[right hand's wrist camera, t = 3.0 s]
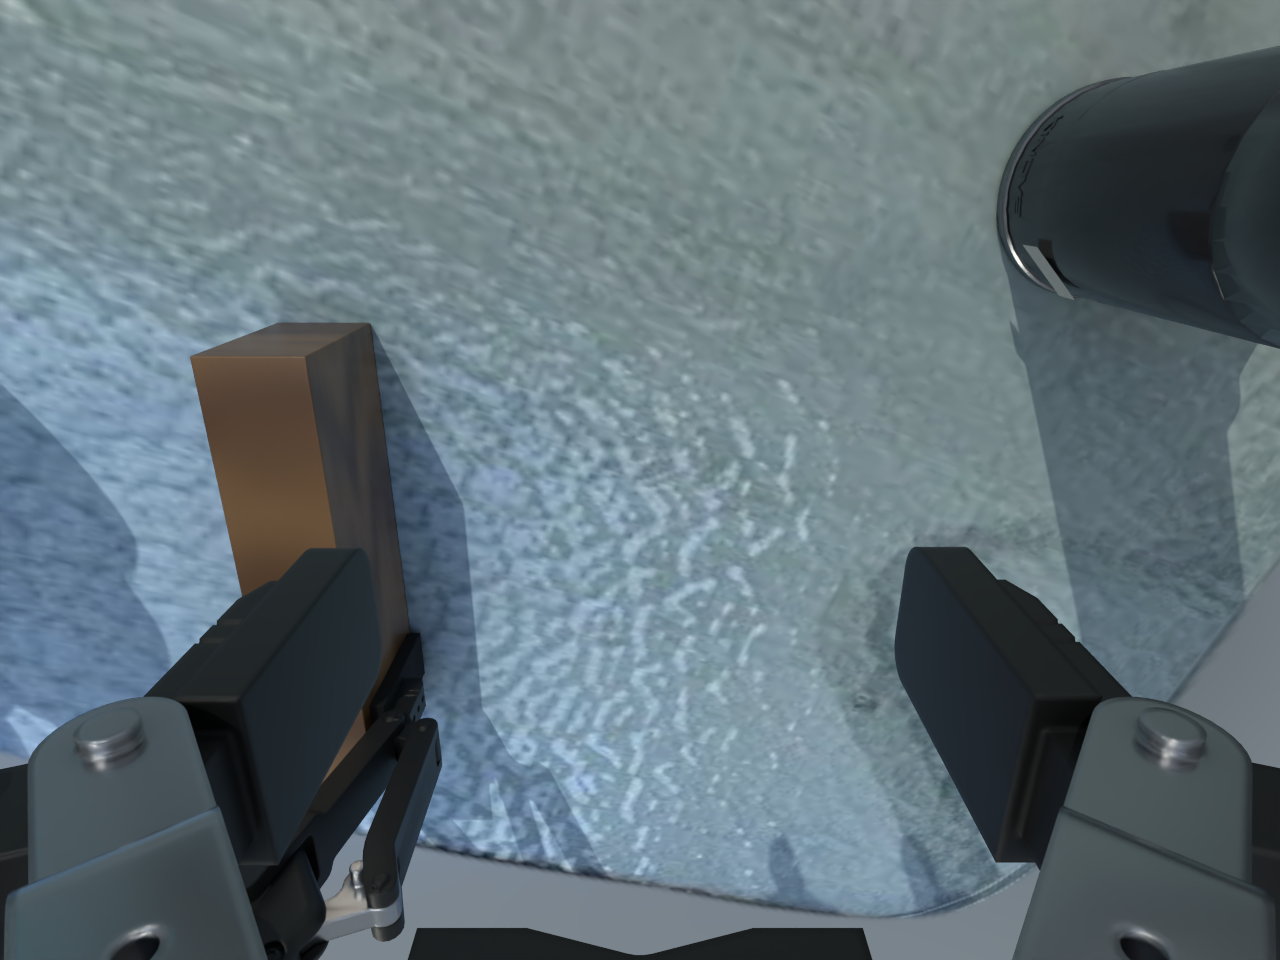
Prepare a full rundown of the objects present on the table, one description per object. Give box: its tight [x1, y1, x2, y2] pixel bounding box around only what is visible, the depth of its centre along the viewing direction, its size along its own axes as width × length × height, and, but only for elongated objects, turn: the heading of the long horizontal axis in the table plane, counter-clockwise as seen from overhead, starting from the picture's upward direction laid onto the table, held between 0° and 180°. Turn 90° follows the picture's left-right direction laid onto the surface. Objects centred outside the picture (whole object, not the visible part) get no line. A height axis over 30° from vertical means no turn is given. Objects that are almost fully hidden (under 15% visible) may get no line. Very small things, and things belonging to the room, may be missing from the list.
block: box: [190, 323, 410, 783], centre depth 38 cm, size 22×5×8 cm, turn 0°
